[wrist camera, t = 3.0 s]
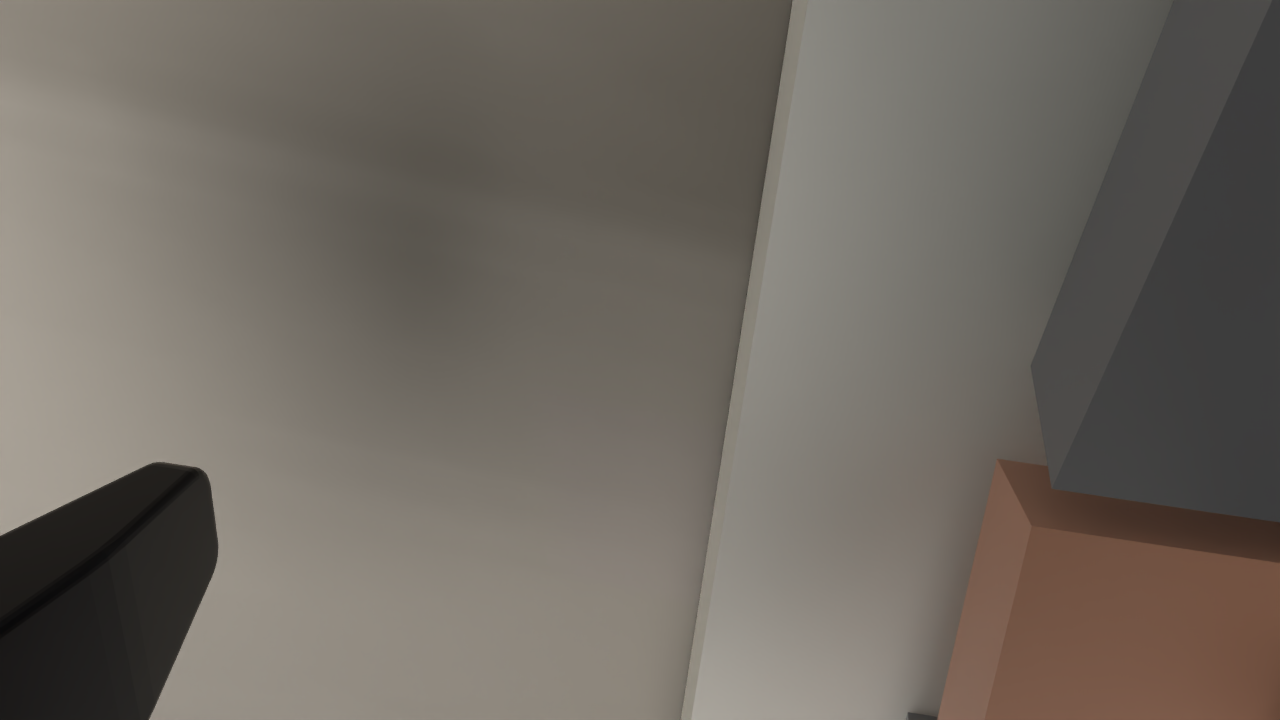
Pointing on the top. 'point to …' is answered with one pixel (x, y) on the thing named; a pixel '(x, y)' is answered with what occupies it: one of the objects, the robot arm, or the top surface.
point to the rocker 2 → (1114, 610)
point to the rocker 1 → (1179, 284)
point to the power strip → (897, 335)
